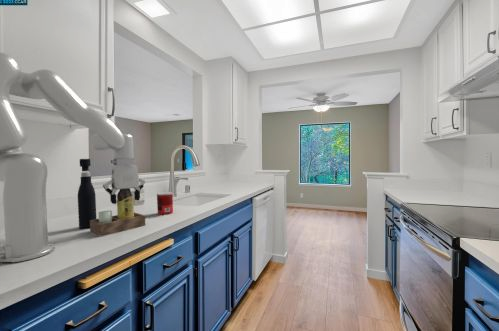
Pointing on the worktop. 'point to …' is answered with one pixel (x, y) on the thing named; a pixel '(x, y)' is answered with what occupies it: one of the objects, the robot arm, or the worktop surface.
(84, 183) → the black water bottle
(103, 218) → the pale green rounded block
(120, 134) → the robot arm
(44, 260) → the worktop surface
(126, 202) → the sauce bottle
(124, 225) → the walnut caddy
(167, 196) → the canned food
